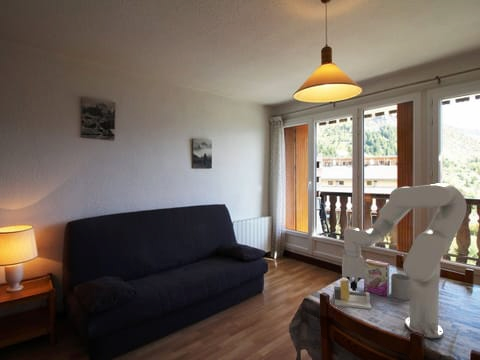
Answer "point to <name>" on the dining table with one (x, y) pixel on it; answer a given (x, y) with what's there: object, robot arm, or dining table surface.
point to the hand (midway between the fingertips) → (353, 289)
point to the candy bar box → (376, 277)
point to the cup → (400, 286)
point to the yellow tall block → (345, 289)
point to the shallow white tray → (352, 299)
